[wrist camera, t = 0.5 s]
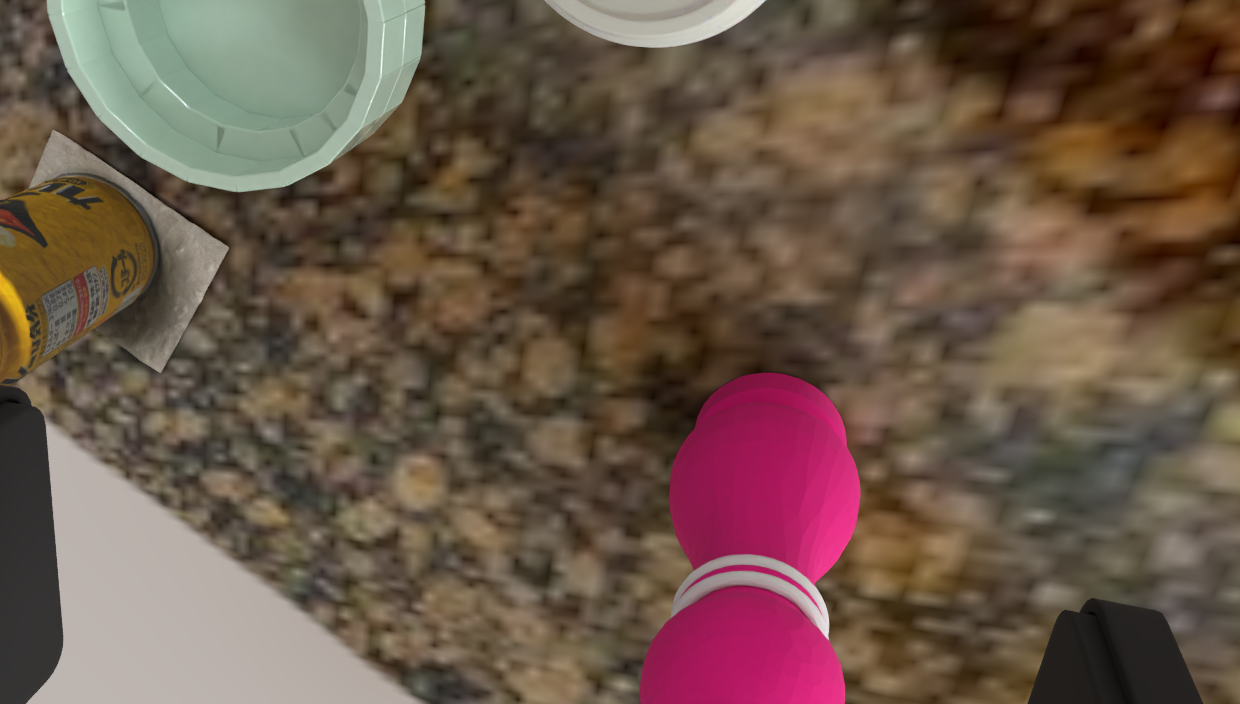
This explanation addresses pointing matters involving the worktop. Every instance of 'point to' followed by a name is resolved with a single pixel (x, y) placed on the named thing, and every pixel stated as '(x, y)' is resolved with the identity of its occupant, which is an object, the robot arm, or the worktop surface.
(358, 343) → the worktop surface
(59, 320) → the condiment
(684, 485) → the pepper mill
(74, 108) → the worktop surface
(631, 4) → the coffee cup
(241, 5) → the bowl
